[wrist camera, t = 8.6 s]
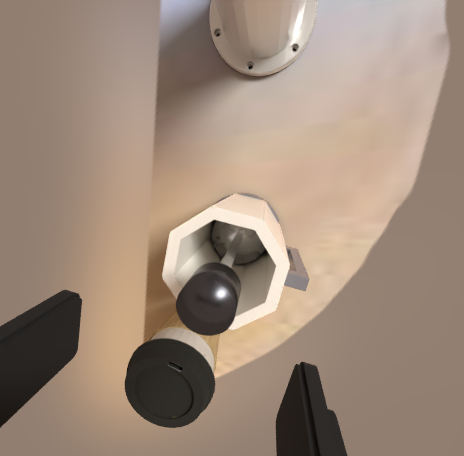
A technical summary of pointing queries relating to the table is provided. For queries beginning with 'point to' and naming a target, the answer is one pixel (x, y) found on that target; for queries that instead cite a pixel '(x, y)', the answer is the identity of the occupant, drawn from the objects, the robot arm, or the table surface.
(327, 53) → the table surface
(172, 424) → the coffee cup
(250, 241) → the plunger
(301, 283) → the coffee press
